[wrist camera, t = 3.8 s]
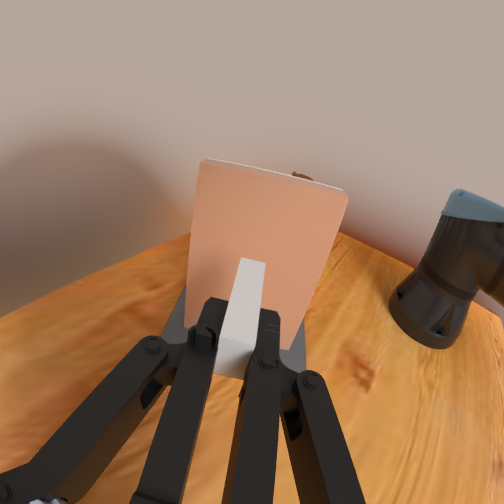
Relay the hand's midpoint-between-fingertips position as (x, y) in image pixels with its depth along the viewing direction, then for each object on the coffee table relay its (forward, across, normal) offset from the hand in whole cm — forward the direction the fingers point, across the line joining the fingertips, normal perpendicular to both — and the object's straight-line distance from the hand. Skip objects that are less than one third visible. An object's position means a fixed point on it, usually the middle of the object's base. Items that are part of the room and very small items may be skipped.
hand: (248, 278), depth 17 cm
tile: (+8, 0, -13) cm, 15 cm away
